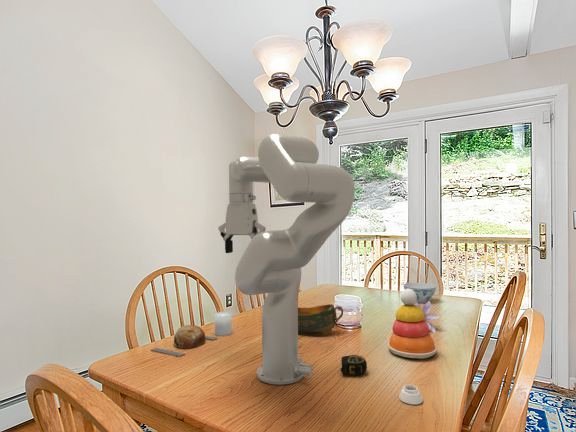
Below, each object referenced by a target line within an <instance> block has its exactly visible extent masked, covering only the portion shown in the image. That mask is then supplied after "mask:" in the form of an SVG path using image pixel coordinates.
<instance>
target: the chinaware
mask: <svg viewBox="0 0 576 432" xmlns="http://www.w3.org/2000/svg"><path fill="white" fill-rule="evenodd" d="M403 289H404V290H405V289H412V290H413V291H414V292H415V293H416V296H417V303H418V304H423V303H425V304H426V303H427V302H428V300H430V299H431V298H432V297H433V296H434V295H435V293H436V289H437V285H435V284H432V283H427V282H425V283H424V282H405V283H403Z"/></svg>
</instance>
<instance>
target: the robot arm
mask: <svg viewBox="0 0 576 432" xmlns="http://www.w3.org/2000/svg"><path fill="white" fill-rule="evenodd" d="M319 157H320V153H319V148H318V147H317V145H316V144H315V142H313V141H312V140H311V139H309V138H307V137H303V136H297V135H296V136H295V135H288V134H280V133H270V134H269V135H265V137H264V138H262V140H261V142H260V144H259V146H258V150H257V156H247V155H246V156H245V155H243V156H239V157H237V158H236V159H235V160H232V161H230V163H229V164H228V199H229V200H228V204H227V207H226V214H225V223H224V222H223V224H221V225H219V226H218V231H219V233H220V237H222V240H223V242H224V251H225V252H224V253H225V254H231V253H233V252H234V251H233V250H234V247H233V245H234V242H233V240H232V239H233V238H234V236H249V237H250V239H251V240H250V242H249V244H248V245H247V247H246V248H245V250H244V252H243V254H242V255H241V257H240V259H239V261H238V263H237V266H236V268H235V273H234V280H235V286H236V288H237V290H238V291H239V292H240V293H242V294H244V295H247V296H256V295H263V294H267V295H266V297H265V299H264V301H263V304H262V309H261V334H262V335H261V337H262V338H261V339H262V342H261V343H262V344H261V347H262V349H261V350H262V351H261V352H262V354H261V356H262V358H261V359H262V363H261V365H259V367H258V368H257V369H256V377H257V379H258V380H259V381H261V382H263V383H266V384H269V385H274V386H275V385H277V386H279V385H280V386H281V385H282V386H283V385H289V384H294V383H296V382H299V381H301V380H302V379H303V378H304V377H305V376H310V377H311V376H312V375H313V374H312V373H313V368H312V364H310V363H304V361H303V356H299V334H298V308H299V293H300V285H301V280H302V268H303V267H305V266H307V265H308V264H309V263H310V262H311V260H312V259H313V258H314V257H315V255H316V254H317V253H318V251H319V250H320V249H321V248H322V246H323V245H324V244H325V243H326V241H327V240H328V239H329V238H330V236H331V235H332V234H333V233H334V232H335V231H336V230H337V229H338V228H339V226H340V225H341V224H342V223H343V222H344V221H346V219H347V217H348V215H349V213H350V212H351V209H352V208H353V205H354V201H355V195H356V194H355V191H356V190H355V182H354V179H353V177H352V175H351V174H350V173H349V172H348V171H347V170H346V169H344V168H342V167H339V166H338V165H337V166H336V165H331V164H326V163H325V164H324V163H318V161H319ZM254 183H265V184H266V183H268V184H271V185H272V187H273V189H274V190H275V192H276V193H277V194H278V196H280V197H281V199H283V200H284V201H287V202H292V203H313V204H312V205H311V206H310V207H307V208H306V209H305V210H303V211H302V212H301V213H300V214H299V215H298V216H297V217H296V219H295V220H294V222H293V223H292V224H291V226H290V227H289V228H286V229H281V230H267V229H266V227H265V226H264V225H263V224H261V223H259V218H258V216H259V215H258V211H257V210H258V209H257V205H256V203H254V201H255V200H257V196H256V195H254V191H253V190H254V188H253V187H254V186H253V185H254Z"/></svg>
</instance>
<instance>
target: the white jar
mask: <svg viewBox="0 0 576 432" xmlns="http://www.w3.org/2000/svg"><path fill="white" fill-rule="evenodd" d="M398 398H399V400H400V401H401V402H403V403H405V404H408V405H414V406H415V405H421V404H422V403H423V401H424V399H423V396H422V395H421V393H420V391H419V388H418V386H416V385H414V384H405V385H403V387H402V389H401V391H400V393H399V395H398Z"/></svg>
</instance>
